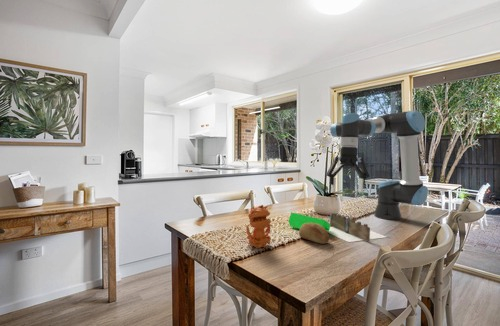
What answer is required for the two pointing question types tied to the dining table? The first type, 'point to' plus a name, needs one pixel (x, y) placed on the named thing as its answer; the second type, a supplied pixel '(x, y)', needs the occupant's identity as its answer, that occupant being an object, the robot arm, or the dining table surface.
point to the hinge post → (347, 225)
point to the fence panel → (359, 230)
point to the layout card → (350, 237)
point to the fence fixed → (338, 221)
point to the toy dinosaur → (259, 227)
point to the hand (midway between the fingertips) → (346, 192)
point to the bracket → (306, 221)
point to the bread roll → (314, 233)
